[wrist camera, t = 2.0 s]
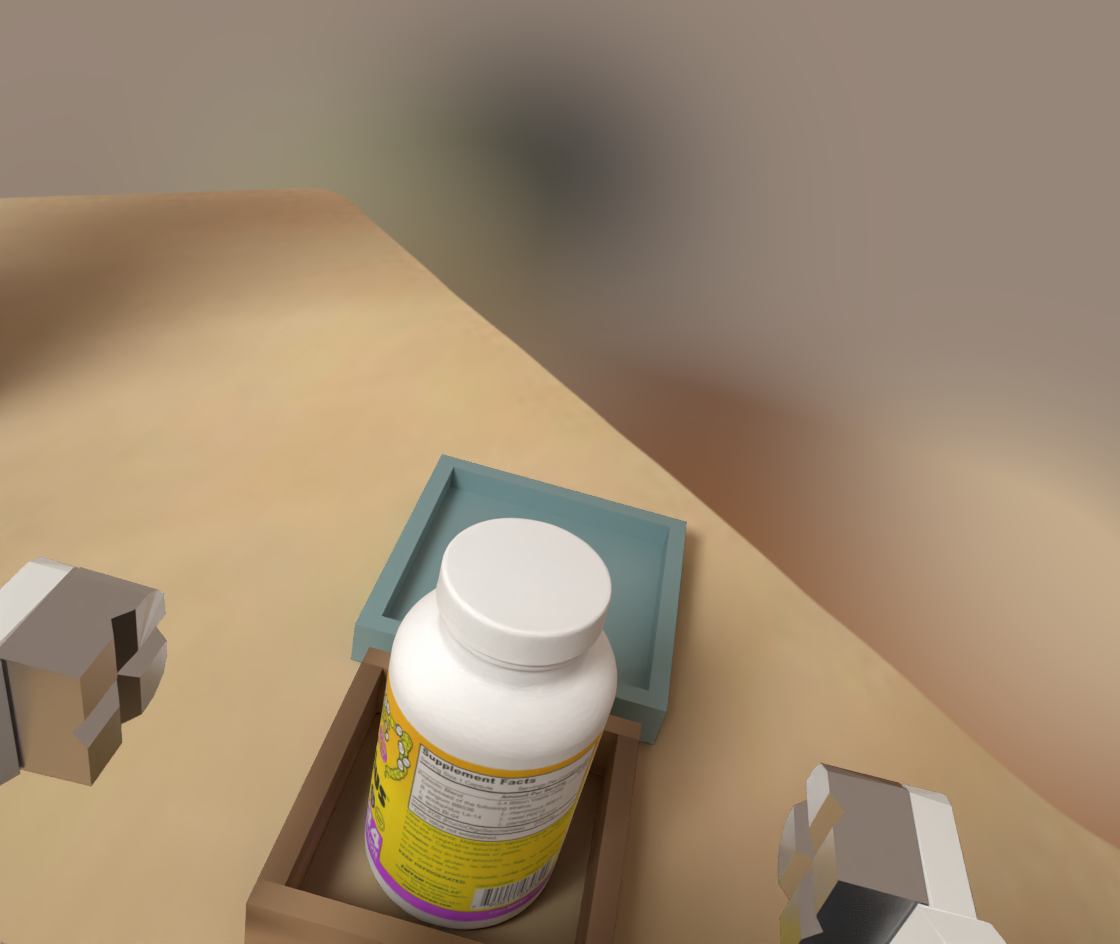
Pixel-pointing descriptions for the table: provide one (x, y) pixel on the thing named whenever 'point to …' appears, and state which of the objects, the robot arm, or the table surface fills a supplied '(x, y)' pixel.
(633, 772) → the brown wooden tray
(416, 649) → the supplement bottle
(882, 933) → the robot arm
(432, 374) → the table surface
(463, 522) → the tray
